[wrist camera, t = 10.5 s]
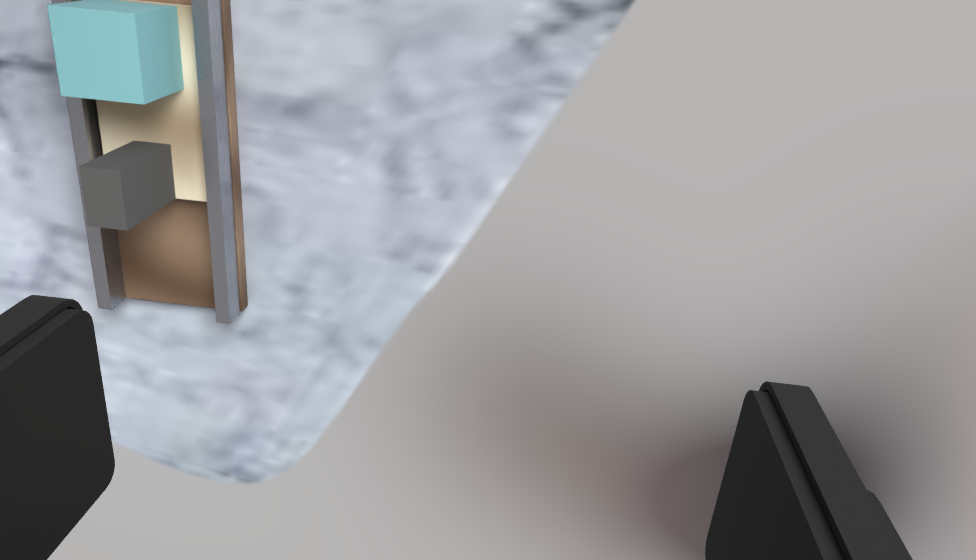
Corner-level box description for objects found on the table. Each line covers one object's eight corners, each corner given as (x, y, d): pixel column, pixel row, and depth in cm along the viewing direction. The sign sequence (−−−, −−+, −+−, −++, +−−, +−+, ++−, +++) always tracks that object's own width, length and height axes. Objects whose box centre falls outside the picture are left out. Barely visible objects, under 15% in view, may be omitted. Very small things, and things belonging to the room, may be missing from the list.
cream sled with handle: (91, -5, 38) (14, 4, 32) (200, 6, 37) (140, 17, 32) (116, 186, 42) (51, 221, 37) (214, 197, 42) (163, 234, 36)
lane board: (75, -29, 38) (45, -28, 36) (229, -15, 38) (208, -12, 36) (119, 290, 46) (96, 307, 43) (247, 305, 45) (231, 323, 43)
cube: (97, -2, 37) (46, 5, 33) (176, 6, 37) (134, 13, 33) (108, 81, 39) (61, 95, 35) (184, 89, 38) (144, 104, 35)
